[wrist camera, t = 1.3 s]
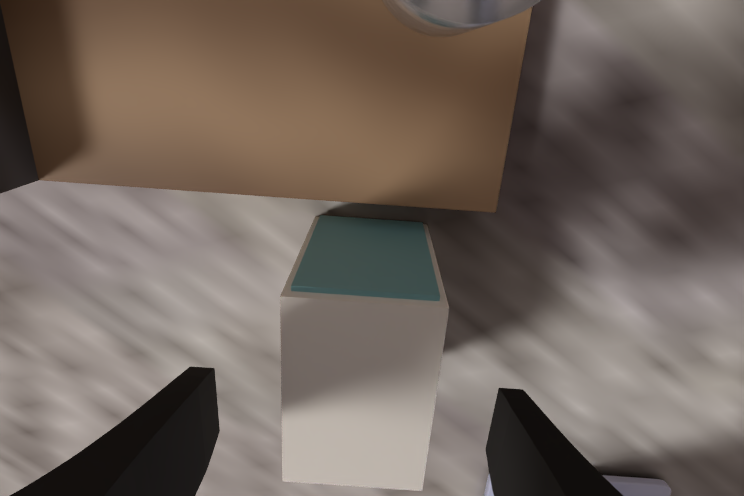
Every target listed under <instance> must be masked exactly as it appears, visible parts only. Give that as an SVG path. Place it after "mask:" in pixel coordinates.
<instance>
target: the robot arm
mask: <svg viewBox="0 0 744 496" xmlns="http://www.w3.org/2000/svg"><path fill="white" fill-rule="evenodd" d="M219 431H220V430H219V418H218V406H217V394H216V382H215V370H214V368H202V367H189V368H188V369H187V370H186V371H184V372H183V373H182V374H181V375H179V376H178V377H177V378H176V379H174V380H173V381H172V382H171V383H169V384H168V385H167V386H166V387H165V388H163V389H162V390H161V391H160V392H158V393H157V394H156V395H155V396H154V397H152V398H151V399H150V400H149V401H147V402H146V403H145V404H144V405H142V406H141V407H140V408H139V409H137V410H136V411H135V412H133V413H132V414H131V415H130V416H128V417H127V418H126V419H125V420H123V421H122V422H121V423H119V424H118V425H117V426H115V427H114V428H113V429H111V430H110V431H108V432H107V433H106V434H104V435H103V436H102V437H100V438H99V439H97V440H96V441H95V442H93V443H92V444H91V445H89V446H88V447H86V448H85V449H84V450H82V451H81V452H79V453H78V454H76V455H75V456H74V457H72V458H71V459H69V460H67V461H66V462H64V463H63V464H61V465H60V466H58V467H57V468H55V469H54V470H52V471H50V472H49V473H47V474H46V475H44V476H42V477H41V478H39V479H38V480H36V481H34V482H33V483H31V484H29V485H28V486H26V487H24V488H23V489H21V490H19V491H17V492H16V493H14V494H12V495H10V496H195V495H196V492H197V490H198V488H199V486H200V484H201V482H202V479H203V477H204V475H205V473H206V470H207V468H208V465H209V462H210V459H211V456H212V453H213V450H214V447H215V444H216V440H217V437H218V434H219ZM486 454H487V461H488V467H489V475H488V479H487V484H486V488H485V493H484V496H670V495H671V489H670V487H669V486H668V484H667V483H666V482H665V481H664V480H660V479H650V478H636V477H622V476H608V475H601V474H600V473H599V472H598V471H597V470H596V469H595V468H594V467H593V466H592V465H591V464H590V463H589V462H588V461H587V460H586V459H585V458H584V457H583V455H582V454H581V453H580V452H579V451H578V450H577V449H576V448H575V447H574V446H573V445H572V444H571V443H570V442H569V441H568V440H567V438H566V437H565V436H564V435H563V434H562V433H561V432H560V431H559V430H558V429H557V427H556V426H555V425H554V424H553V423H552V422H551V421H550V420H549V418H548V417H547V416H546V415H545V414H544V413H543V412H542V410H541V409H540V408H539V407H538V406H537V405H536V404H535V402H534V401H533V400H532V399H531V398H530V397H529V396H528V395H527V393H526V392H525V391H524V390H521V389H507V388H499V390H498V394H497V399H496V404H495V408H494V413H493V417H492V422H491V427H490V431H489V436H488V441H487V445H486Z"/></svg>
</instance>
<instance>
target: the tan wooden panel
mask: <svg viewBox="0 0 744 496" xmlns="http://www.w3.org/2000/svg"><path fill="white" fill-rule="evenodd" d="M531 11H532V7H530V8H529V9H527V10H525V11H523V12H521V13H519V14H517V15H514V16H512V17H510V18H507V19H504V20H501V21H498V22H495V23H492V24H489V25H487V26H484V27H481V28H478V29H475V30H472V31H469V32H466V33H463V34H460V35H456V36H450V37H434V36H427V35H424V34H421V33H418V32H416V31H414V30H411V29H410V28H408V27H406V26H405V25H403V24H402V23H401V22H400V21H399V20H397V19H396V18H395V17H394V16H393V15H392V13H391V12H390V11H389V10H388V8H387V7H386V6H385V4H384V3H383V1H382V0H0V193H3V192H6V191H9V190H11V189H14V188H17V187H20V186H23V185H26V184H29V183H32V182H35V181H38V180H44V181H59V182H73V183H87V184H101V185H115V186H129V187H143V188H157V189H171V190H185V191H199V192H213V193H227V194H241V195H255V196H270V197H284V198H298V199H312V200H326V201H340V202H354V203H368V204H382V205H396V206H410V207H424V208H438V209H452V210H466V211H480V212H495V213H496V208H497V203H498V197H499V192H500V186H501V180H502V175H503V169H504V163H505V158H506V152H507V147H508V141H509V135H510V130H511V124H512V118H513V113H514V107H515V101H516V96H517V90H518V85H519V79H520V73H521V68H522V62H523V56H524V51H525V45H526V40H527V34H528V28H529V23H530V17H531Z"/></svg>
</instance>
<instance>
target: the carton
mask: <svg viewBox="0 0 744 496" xmlns="http://www.w3.org/2000/svg"><path fill="white" fill-rule="evenodd" d="M448 314H449V305H448V301H447V297H446V294H445V290H444V286H443V282H442V278H441V275H440V271H439V267H438V263H437V260H436V256H435V252H434V248H433V244H432V241H431V237H430V233H429V229H428V225H427V224H423V222H411V221H396V220H382V219H368V218H354V217H339V216H325V215H320V217H315V219H314V221H313V223H312V225H311V228H310V230H309V232H308V234H307V237H306V239H305V241H304V244H303V246H302V248H301V250H300V253H299V255H298V257H297V259H296V262H295V264H294V266H293V269H292V271H291V273H290V275H289V278H288V280H287V282H286V284H285V287H284V289H283V291H282V294H281V296H280V315H281V394H282V473H283V481H285V482H299V483H314V484H328V485H343V486H358V487H372V488H387V489H401V490H416V491H422V488H423V481H424V475H425V468H426V461H427V455H428V448H429V441H430V434H431V428H432V421H433V414H434V408H435V401H436V394H437V387H438V381H439V374H440V367H441V361H442V354H443V347H444V341H445V334H446V327H447V320H448Z"/></svg>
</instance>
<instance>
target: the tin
mask: <svg viewBox="0 0 744 496" xmlns="http://www.w3.org/2000/svg"><path fill="white" fill-rule="evenodd" d="M382 1H383V3H384V4H385V6H386V7H387V8H388V10H389V11H390V12H391V13H392V15H393V16H394V17H395V18H396V19H397V20H399V21H400V22H401V23H402V24H403V25H405V26H406V27H408V28H410V29H411V30H414V31H416V32H418V33H421V34H424V35H427V36H434V37H450V36H456V35H460V34H463V33H466V32H469V31H472V30H475V29H478V28H481V27H484V26H487V25H489V24H492V23H495V22H498V21H501V20H504V19H507V18H510V17H512V16H514V15H517V14H519V13H521V12H523V11H525V10H527V9H529V8H530V7H532V6H534V5H535V4H537V3H539V2H540V1H541V0H382Z"/></svg>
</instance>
